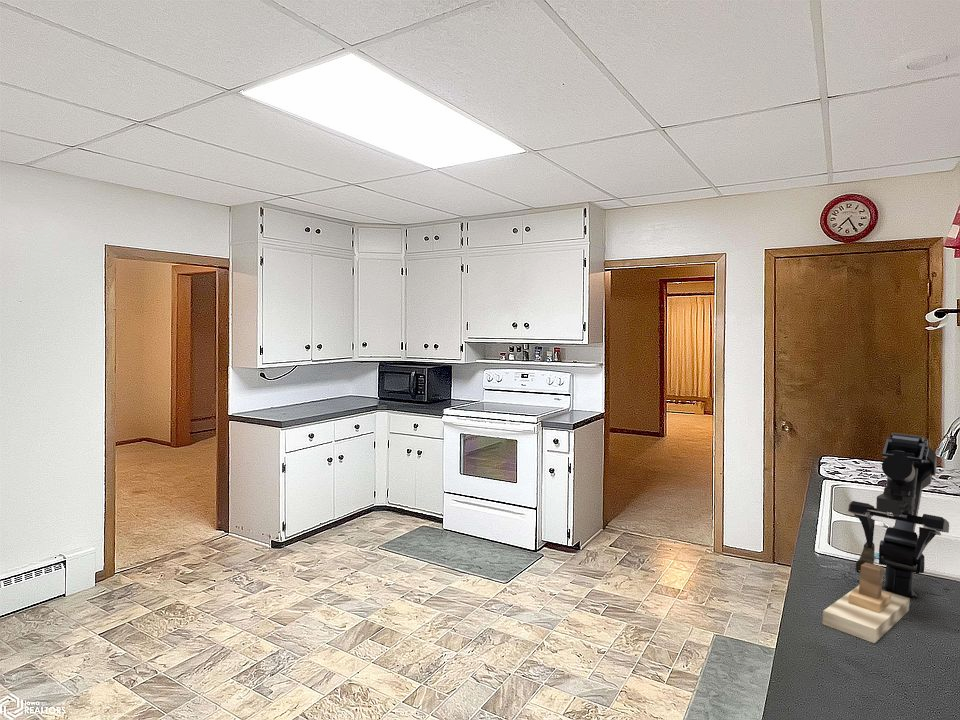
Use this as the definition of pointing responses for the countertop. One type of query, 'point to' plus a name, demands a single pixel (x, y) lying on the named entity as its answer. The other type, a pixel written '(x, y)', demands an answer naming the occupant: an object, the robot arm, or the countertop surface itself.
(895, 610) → the board
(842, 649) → the countertop surface
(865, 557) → the hand tool
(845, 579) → the countertop surface
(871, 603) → the block
